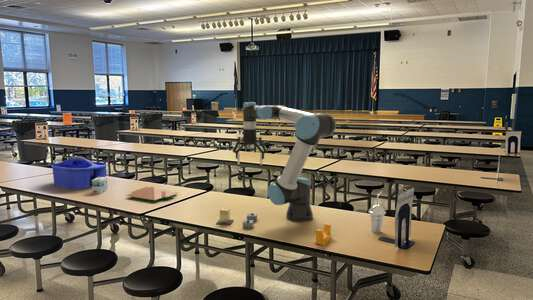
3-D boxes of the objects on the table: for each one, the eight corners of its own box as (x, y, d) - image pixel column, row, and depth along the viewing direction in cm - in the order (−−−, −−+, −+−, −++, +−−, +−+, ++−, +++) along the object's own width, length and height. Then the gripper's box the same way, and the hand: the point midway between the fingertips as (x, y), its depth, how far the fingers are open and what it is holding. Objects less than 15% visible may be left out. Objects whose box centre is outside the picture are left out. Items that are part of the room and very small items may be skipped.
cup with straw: (364, 229, 193) (365, 191, 191) (378, 227, 197) (379, 190, 194) (375, 235, 185) (376, 195, 183) (389, 232, 189) (391, 193, 186)
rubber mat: (233, 220, 208) (233, 219, 208) (230, 225, 200) (230, 224, 200) (219, 219, 209) (219, 219, 209) (215, 224, 201) (215, 223, 201)
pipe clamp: (324, 245, 172) (324, 231, 172) (315, 243, 175) (315, 230, 174) (333, 237, 183) (334, 224, 182) (325, 235, 185) (325, 223, 184)
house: (158, 205, 239) (157, 193, 238) (121, 199, 254) (120, 187, 253) (181, 197, 260) (181, 186, 259) (146, 192, 275) (146, 181, 274)
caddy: (80, 179, 319) (78, 152, 316) (116, 184, 298) (115, 155, 295) (43, 186, 291) (41, 157, 288) (81, 193, 271) (78, 161, 268)
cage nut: (230, 220, 207) (230, 207, 206) (227, 223, 201) (227, 210, 201) (222, 219, 208) (222, 207, 207) (219, 223, 202) (219, 210, 201)
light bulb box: (101, 194, 266) (100, 179, 264) (92, 194, 266) (91, 179, 264) (108, 191, 276) (107, 176, 275) (99, 191, 276) (98, 176, 275)
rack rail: (257, 219, 210) (257, 212, 210) (252, 228, 194) (252, 221, 194) (248, 218, 211) (248, 212, 210) (242, 228, 195) (242, 221, 195)
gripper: (271, 128, 221) (271, 163, 223) (230, 128, 224) (230, 163, 227) (270, 129, 213) (270, 166, 216) (227, 128, 217) (227, 165, 219)
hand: (249, 164), depth 221 cm, fingers open, 13 cm apart
